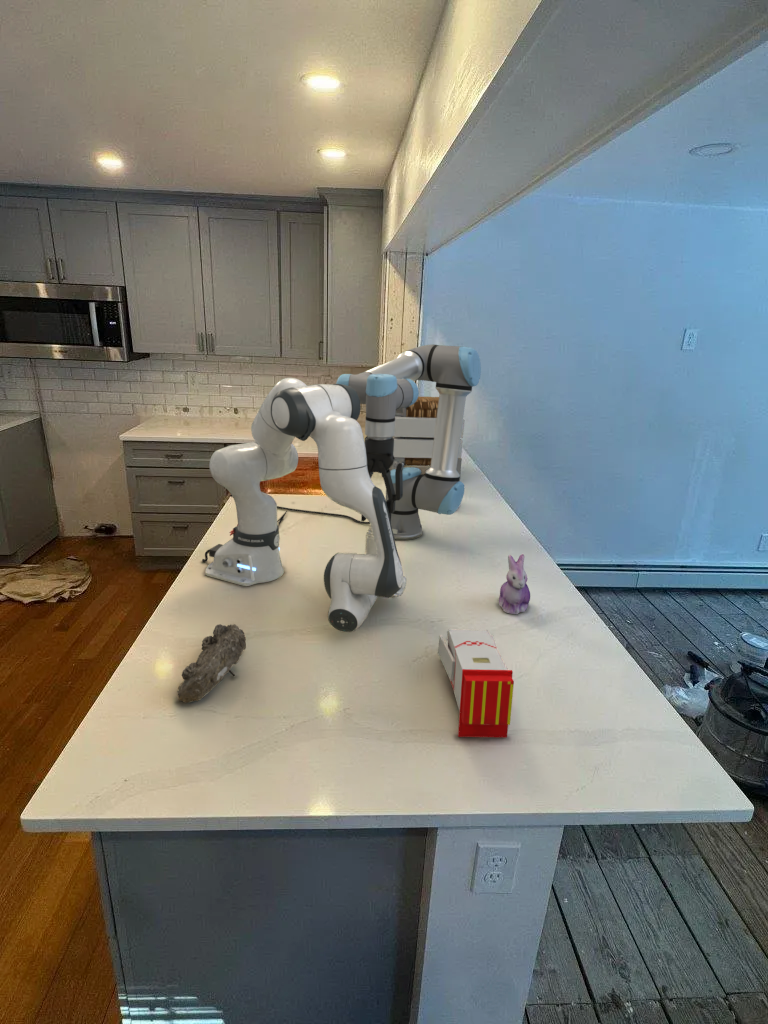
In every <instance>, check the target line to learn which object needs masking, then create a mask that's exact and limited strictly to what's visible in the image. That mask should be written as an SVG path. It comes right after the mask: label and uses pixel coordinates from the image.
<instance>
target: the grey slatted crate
mask: <svg viewBox="0 0 768 1024" xmlns="http://www.w3.org/2000/svg"><path fill="white" fill-rule="evenodd" d="M438 402H439V396H418V399H417V400H416V402H415V403H414V404H412V405H410V406H409V407H406V408H402V409H398V410H396V412H395V430H394V436H393V439H394V452H393V455H394V458H395V460H397V461H399V462H404V463H405V465H404V466H406V467H409V466H411V467H417V466H418V467H430V466H431V458H432V450H433V442H434V434H435V426H436V418H437V410H438ZM464 429H465V419H464V418H463V423H462V430H461V438H460V445H459V453H458V460H457V468H456V470H457V472H458V473H459V475H460V476H461V472H462V461H463V460H462V453H463V442H464V441H463V440H462V439H463V438H464V431H465V430H464ZM393 469H395V468H394V465H392V466H391V467H390V471H391V470H393ZM459 481H461V479H460V480H459Z"/></svg>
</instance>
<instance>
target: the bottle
mask: <svg viewBox="0 0 768 1024" xmlns="http://www.w3.org/2000/svg"><path fill="white" fill-rule="evenodd" d="M364 551H365V552H364V554H377V549H376V545H375V540H374V536H373V531H372V527H371V525H370V526H369V527H368V530H367V531H366V534H365V549H364Z"/></svg>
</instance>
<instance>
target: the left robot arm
mask: <svg viewBox="0 0 768 1024" xmlns="http://www.w3.org/2000/svg"><path fill="white" fill-rule="evenodd" d="M361 407H362V406H361V404H360V400H359V397H358V395H357V393H356V391H355V390H354V389H353V388H351V387H349V386H347V385H343V384H336V383H333V384H330V383H329V384H328V383H315V384H310V385H307V384H306V383H305V382H304V381H302V380H300V379H298V378H296V377H285V378H282V379H280V380H279V381H278V382H276V383H275V385H274V386H273V388H272V389H271V390H270V391H269V392H268V394H267V395H266V397H265V398H264V400H263V402H262V404H261V406H260V407H259V409H258V411H257V413H256V415H255V416H254V419H253V420H252V422H251V426H250V430H251V436H252V438H253V440H254V441H251V442H243V443H238V444H237V443H236V444H231V445H228V446H227V445H226V446H225V447H222V448H219V449H217V450H214V452H213V453H212V455H211V457H210V459H209V464H208V465H209V472H210V475H211V477H212V479H213V480H214V481H215V482H216V483H217V484H218V485H220V486H221V487H223V488H225V489H226V490H227V491H228V492H229V494H230V495H232V496H231V497H232V498H233V500H234V504H235V508H236V509H235V510H236V518H237V519H236V520H237V523H236V524H237V525H236V526H235V527H233V528H232V530H230V531H229V536H230V537H231V536H233V537H232V538H231V539H229V540H228V541H226V542H224V543H223V544H221V543H218V544H216V545H215V546H213V547H211V548H209V549H207V550H206V551H205V553H204V558H202V559H201V561H202V562H204V563H207V561H208V560H209V557H210V558H213V559H212V560H213V561H212V562H210V563H209V564H208V565H207V566H206V568H205V576H207V577H209V578H210V577H211V578H214V579H218V580H222V581H225V582H228V583H232V584H235V585H239V586H243V587H250V586H254V585H256V584H264V583H268V582H272V581H275V580H277V579H280V577H282V576H283V575H284V573H285V569H284V566H283V562H282V559H281V553H280V550H281V548H280V539H281V538H280V526H279V524H278V522H277V521H278V508H277V506H278V503H277V502H276V499H274V497H273V496H272V495H270V494H269V493H267V492H264V491H262V489H261V485H260V484H261V482H265V481H270V480H275V479H280V478H283V477H285V476H287V475H289V474H291V473H294V472H295V471H296V469H297V467H298V463H299V453H298V450H297V448H296V446H295V445H294V444H293V441H294V440H295V439H298V440H300V441H302V442H305V441H307V440H308V439H309V438H310V439H312V440H313V441H314V442H315V444H316V447H317V454H318V455H317V459H318V476H319V483H320V488H321V490H322V492H323V493H324V494H325V496H326V497H328V499H329V500H330V501H332V502H333V503H335V504H337V505H339V506H341V507H345V508H346V509H349V510H352V511H354V512H355V513H357V514H359V515H361V516H362V515H363V516H364V517H365V518H366V521H367V522H369V523H370V524H369V525H370V526H371V527H372V531H373V536H374V540H375V545H376V549H377V554H365V553H357V552H337V553H335V554H334V555H333V556H331V557H330V559H329V560H328V562H327V563H326V565H325V568H324V572H323V585H324V589H325V592H326V593H327V595H328V597H329V599H330V606H329V608H328V609H329V610H328V612H327V613H328V614H327V619H328V622H329V625H330V626H332V628H333V629H335V630H337V631H338V632H343V633H353V632H355V631H356V630H358V629H359V628H361V626H362V625H363V623H364V622H365V620H366V619H367V618H368V616H369V614H370V612H371V609H372V608H373V606H374V605H375V603H376V601H377V599H378V598H387V599H389V598H390V599H397V598H399V597H402V596H403V593H404V591H405V590H406V588H407V577H406V576H405V575H404V569H403V565H402V562H401V558H400V556H399V552H398V548H397V545H396V540H395V539H394V535H393V530H392V525H391V521H390V516H389V512H388V508H387V504H386V496H385V495H384V493H383V491H382V489H381V488H379V487H378V486H376V484H375V483H374V482H373V481H372V477H371V478H370V476H369V473H368V468H367V456H366V448H365V436H364V433H363V429H362V426H361V424H360V423H359V422H358V419H359V417H360V415H361ZM278 526H279V527H278ZM208 556H209V557H208Z"/></svg>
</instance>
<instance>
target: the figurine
mask: <svg viewBox="0 0 768 1024" xmlns="http://www.w3.org/2000/svg"><path fill="white" fill-rule="evenodd" d="M507 561H508V562H507V563H508V571H507V573H506V576H505V578H506V581H505V582H504V583H503V584H501V586H500V588H499V589H500V590H499V598H498V605H499V607H500V608H501V609H502V611H503V612H504V613H507V614H511V615H518V614H519V613H525V612H526V611H527V609H528V607H529V604H530V601H531V591H530V588H529V585H528V584H527V582H528V575H527V571H526V570H525V568H524V567H525V566H524V563H525V554H524V553H521V554H520V555H519V557H518V558H517V560H515V559H514V557H513V556H512V555H511V554H509V555H508V556H507Z"/></svg>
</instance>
